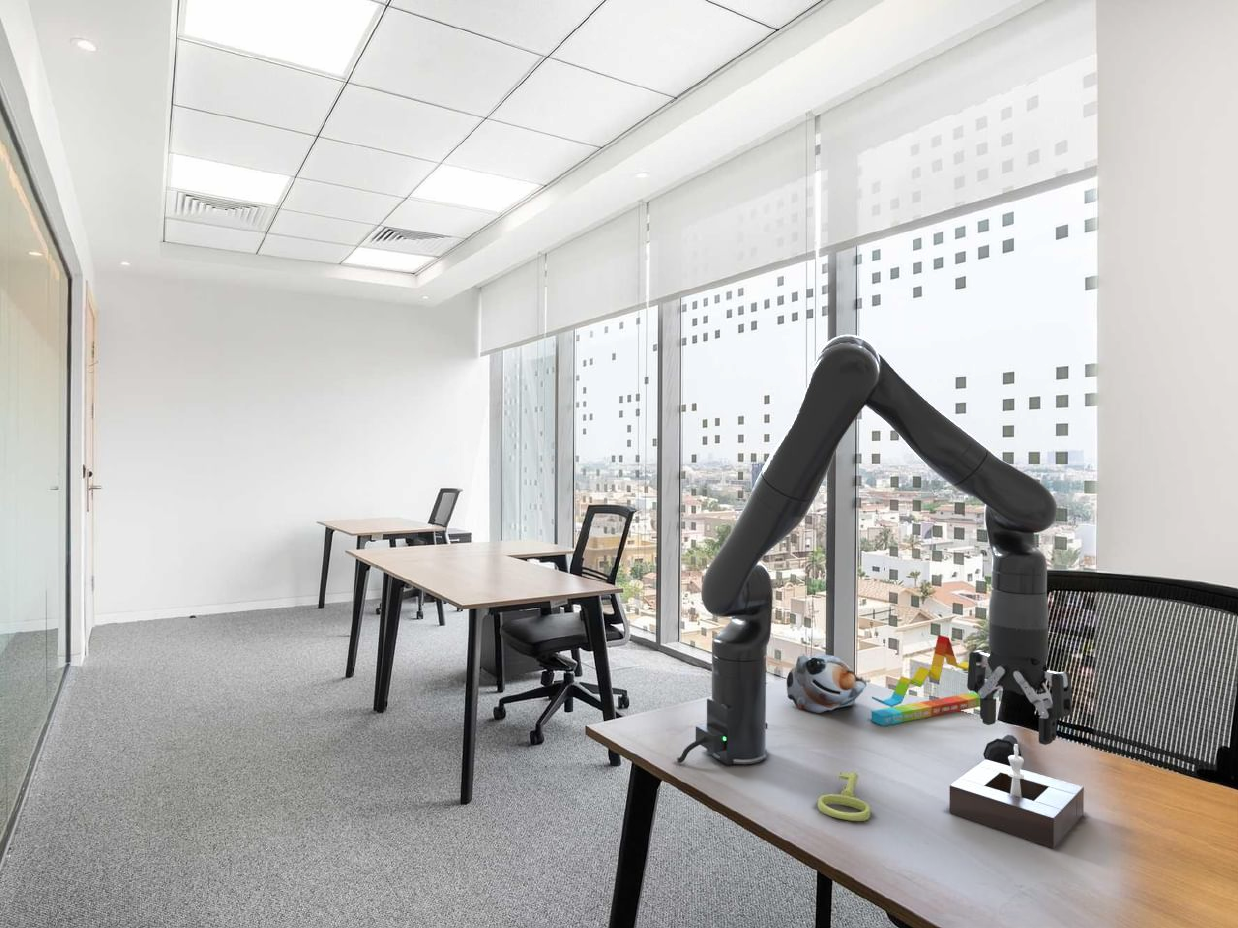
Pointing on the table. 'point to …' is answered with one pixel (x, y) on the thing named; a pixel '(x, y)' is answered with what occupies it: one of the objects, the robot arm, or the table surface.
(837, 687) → the lucky cat figurine
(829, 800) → the key
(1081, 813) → the holder
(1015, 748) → the chess piece
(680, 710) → the table surface
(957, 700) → the chart
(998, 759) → the microphone
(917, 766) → the table surface
